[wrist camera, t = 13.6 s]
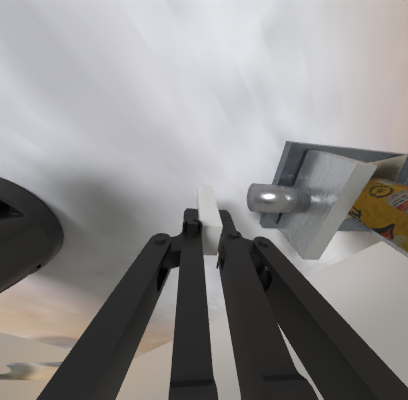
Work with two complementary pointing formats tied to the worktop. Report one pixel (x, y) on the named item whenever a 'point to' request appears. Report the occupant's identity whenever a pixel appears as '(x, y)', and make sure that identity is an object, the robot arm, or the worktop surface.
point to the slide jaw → (313, 200)
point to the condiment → (385, 202)
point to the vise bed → (297, 152)
